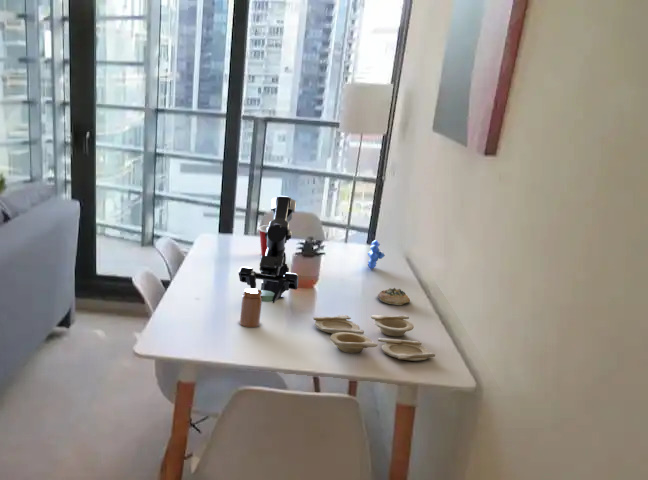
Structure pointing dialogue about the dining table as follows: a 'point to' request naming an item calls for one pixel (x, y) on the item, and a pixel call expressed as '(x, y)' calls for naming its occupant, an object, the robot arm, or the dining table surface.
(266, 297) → the lid
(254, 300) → the jar
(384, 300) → the bread roll
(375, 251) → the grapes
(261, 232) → the plastic cup
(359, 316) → the dining table surface
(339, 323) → the tableware set
